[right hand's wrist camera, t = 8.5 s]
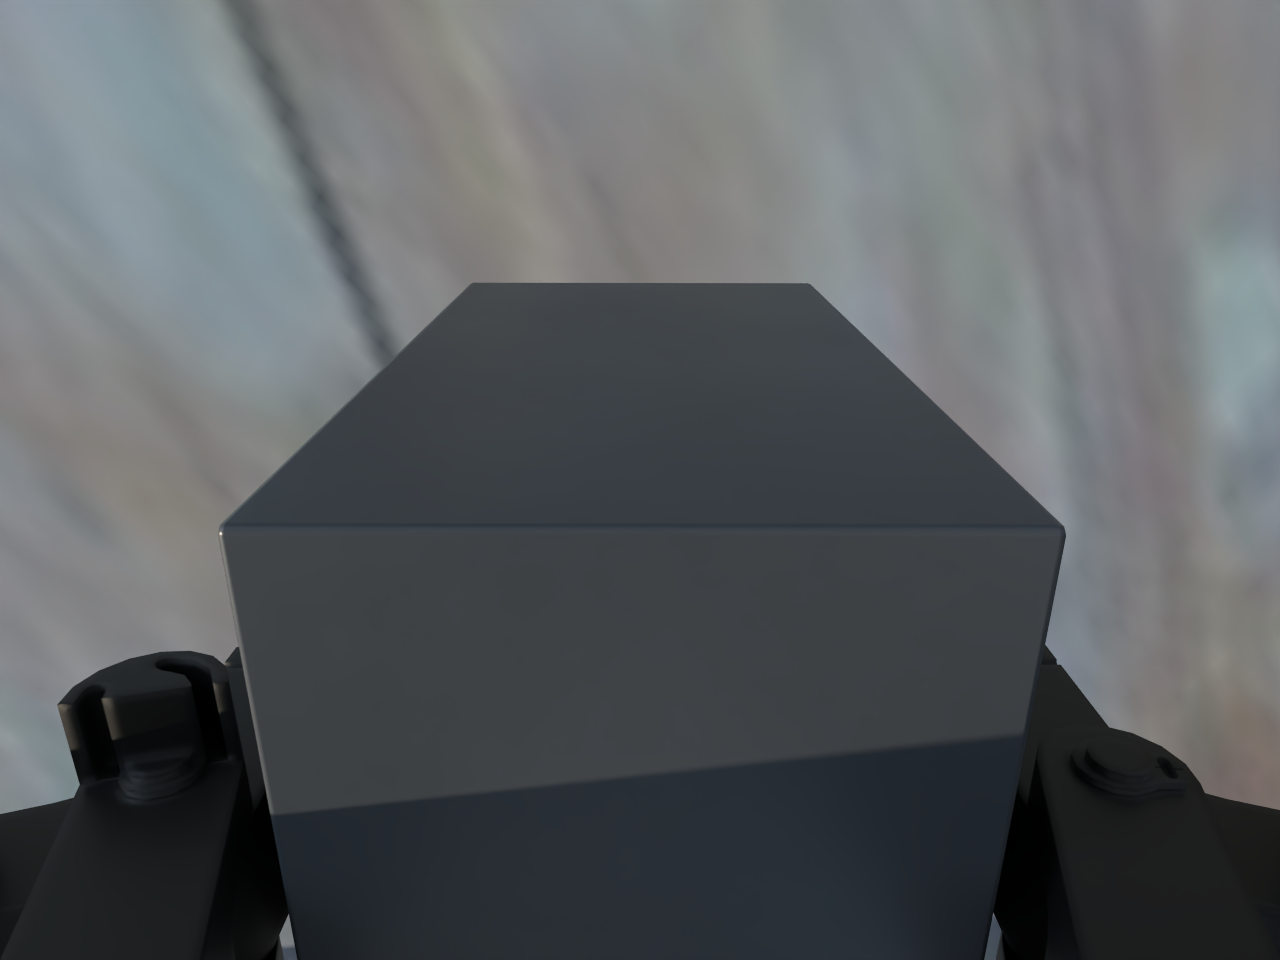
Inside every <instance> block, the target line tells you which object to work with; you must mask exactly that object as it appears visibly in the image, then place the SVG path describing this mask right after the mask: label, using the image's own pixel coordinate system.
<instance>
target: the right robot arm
mask: <svg viewBox="0 0 1280 960" xmlns="http://www.w3.org/2000/svg"><path fill="white" fill-rule="evenodd" d="M1056 661H1057V659H1056V658H1055V657H1054V656H1053V654H1052V653H1051V652H1050V650H1049V649H1048V648H1047V646H1046V645H1045V647H1044V652H1043V657H1042V662H1041V668H1040V673H1039V678H1038V683H1037V688H1036V693H1035V699H1034V704H1033V709H1032V714H1031V719H1030V724H1029V730H1028V735H1027V740H1026V745H1025V750H1024V755H1023V761H1022V766H1021V771H1020V776H1019V781H1018V786H1017V792H1016V797H1015V802H1014V807H1013V812H1012V817H1011V823H1010V828H1009V833H1008V838H1007V843H1006V848H1005V854H1004V859H1003V864H1002V869H1001V874H1000V879H999V885H998V890H997V895H996V900H995V905H994V911H993V912H994V915H995V917H996V919H997V921H998V924H999V926H1000V928H1001V930H1002V932H1001V937H1000V942H999V947H998V952H997V957H996V960H1280V810H1276V809H1272V808H1267V807H1262V806H1257V805H1252V804H1248V803H1243V802H1238V801H1233V800H1228V799H1224V798H1221V797H1217V796H1213V795H1210V794H1206V793H1204V790H1203V788H1202V786H1201V784H1200V782H1199V781H1198V780H1197V778H1196V777H1195V776H1194V774H1193V773H1192V772H1191V771H1190V769H1189V768H1188V767H1187V765H1186V764H1185V763H1184V762H1182V761H1181V760H1179V759H1178V758H1177V757H1175V756H1174V755H1173V754H1171V753H1170V752H1169V751H1167V750H1166V749H1164V748H1163V747H1162V746H1160V745H1157V744H1155V743H1153V742H1151V741H1148V740H1146V739H1144V738H1142V737H1140V736H1137V735H1135V734H1133V733H1130V732H1126V731H1121V730H1117V729H1113V728H1109V727H1108V725H1107V724H1106V723H1105V722H1104V720H1103V719H1102V718H1101V716H1100V715H1099V714H1098V713H1097V711H1096V710H1095V709H1094V707H1093V706H1092V705H1091V703H1090V702H1089V701H1088V700H1087V698H1086V697H1085V696H1084V694H1083V693H1082V692H1081V691H1080V689H1079V688H1078V687H1077V685H1076V684H1075V683H1074V681H1073V680H1072V679H1071V678H1070V676H1069V675H1068V674H1067V672H1066V671H1065V670H1064V669H1063V667H1062V666H1061V665H1057V662H1056ZM58 709H59V713H60V716H61V720H62V723H63V727H64V730H65V734H66V737H67V741H68V744H69V748H70V751H71V755H72V758H73V762H74V765H75V769H76V773H77V776H78V780H79V783H80V786H79V788H78V790H77V792H76V794H75V797H74V798H71V799H67V800H64V801H60V802H56V803H52V804H47V805H42V806H38V807H33V808H28V809H23V810H18V811H14V812H9V813H4V814H0V960H284V958H283V952H282V947H281V942H280V937H279V934H280V932H281V930H282V927H283V925H284V923H285V921H286V918H287V916H288V914H289V911H288V906H287V901H286V895H285V890H284V885H283V879H282V874H281V869H280V863H279V858H278V853H277V847H276V842H275V837H274V831H273V826H272V820H271V815H270V810H269V804H268V799H267V794H266V788H265V783H264V778H263V772H262V767H261V762H260V756H259V751H258V746H257V740H256V735H255V730H254V724H253V719H252V714H251V708H250V703H249V698H248V692H247V687H246V682H245V676H244V671H243V666H242V660H241V655H240V650H239V647H236V649H235V650H234V651H233V653H232V654H231V655H230V656H229V658H228V659H227V660H226V662H225V665H224V664H222V663H221V662H220V661H219V660H217V659H216V658H215V657H214V656H211V655H206V654H202V653H197V652H193V651H173V652H159V653H154V654H149V655H145V656H140V657H135V658H131V659H128V660H125V661H123V662H120V663H117V664H115V665H112V666H110V667H107V668H105V669H102V670H100V671H98V672H96V673H95V674H93V675H91V676H90V677H88V678H87V679H85V680H83V681H82V682H80V683H79V684H77V685H75V686H74V687H73V688H72V689H71V690H70V691H69V692H68V693H67V694H66V696H65V697H64V698H63V699H62V700H61V701H60V702H59V703H58Z"/></svg>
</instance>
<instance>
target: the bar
mask: <svg viewBox="0 0 1280 960" xmlns="http://www.w3.org/2000/svg"><path fill="white" fill-rule="evenodd" d="M218 537H219V543H220V548H221V553H222V559H223V564H224V569H225V575H226V580H227V586H228V591H229V596H230V602H231V607H232V612H233V618H234V623H235V628H236V634H237V639H238V644H239V650H240V655H241V660H242V666H243V671H244V676H245V682H246V687H247V692H248V698H249V703H250V708H251V714H252V719H253V724H254V730H255V735H256V740H257V746H258V751H259V756H260V762H261V767H262V772H263V778H264V783H265V788H266V794H267V799H268V804H269V810H270V815H271V820H272V826H273V831H274V837H275V842H276V847H277V853H278V858H279V863H280V869H281V874H282V879H283V885H284V890H285V895H286V901H287V906H288V911H289V917H290V922H291V927H292V933H293V938H294V943H295V949H296V954H297V959H298V960H984V957H985V952H986V947H987V942H988V936H989V931H990V926H991V921H992V916H993V911H994V905H995V900H996V895H997V890H998V885H999V879H1000V874H1001V869H1002V864H1003V859H1004V854H1005V848H1006V843H1007V838H1008V833H1009V828H1010V823H1011V817H1012V812H1013V807H1014V802H1015V797H1016V792H1017V786H1018V781H1019V776H1020V771H1021V766H1022V761H1023V755H1024V750H1025V745H1026V740H1027V735H1028V730H1029V724H1030V719H1031V714H1032V709H1033V704H1034V699H1035V693H1036V688H1037V683H1038V678H1039V673H1040V668H1041V662H1042V657H1043V652H1044V647H1045V642H1046V637H1047V631H1048V626H1049V621H1050V616H1051V611H1052V605H1053V600H1054V595H1055V590H1056V585H1057V580H1058V574H1059V569H1060V564H1061V559H1062V554H1063V549H1064V543H1065V538H1066V533H1065V529H1064V526H1063V525H1062V524H1061V523H1060V522H1059V521H1058V520H1056V519H1055V518H1054V517H1053V516H1052V515H1051V514H1050V513H1049V512H1048V511H1047V510H1046V509H1045V508H1044V507H1043V506H1042V505H1041V504H1040V503H1039V502H1038V501H1037V500H1036V499H1034V498H1033V497H1032V496H1031V495H1030V494H1029V493H1028V492H1027V491H1026V490H1025V489H1024V488H1023V487H1022V486H1021V485H1020V484H1019V483H1018V482H1017V481H1016V480H1015V479H1014V478H1013V477H1011V476H1010V475H1009V474H1008V473H1007V472H1006V471H1005V470H1004V469H1003V468H1002V467H1001V466H1000V465H999V464H998V463H997V462H996V461H995V460H994V459H993V458H992V457H991V456H989V455H988V454H987V453H986V452H985V451H984V450H983V449H982V448H981V447H980V446H979V445H978V444H977V443H976V442H975V441H974V440H973V439H972V438H971V437H970V436H969V435H967V434H966V433H965V432H964V431H963V430H962V429H961V428H960V427H959V426H958V425H957V424H956V423H955V422H954V421H953V420H952V419H951V418H950V417H949V416H948V415H947V414H945V413H944V412H943V411H942V410H941V409H940V408H939V407H938V406H937V405H936V404H935V403H934V402H933V401H932V400H931V399H930V398H929V397H928V396H927V395H926V394H925V393H924V392H922V391H921V390H920V389H919V388H918V387H917V386H916V385H915V384H914V383H913V382H912V381H911V380H910V379H909V378H908V377H907V376H906V375H905V374H904V373H903V372H902V371H900V370H899V369H898V368H897V367H896V366H895V365H894V364H893V363H892V362H891V361H890V360H889V359H888V358H887V357H886V356H885V355H884V354H883V353H882V352H881V351H880V350H878V349H877V348H876V347H875V346H874V345H873V344H872V343H871V342H870V341H869V340H868V339H867V338H866V337H865V336H864V335H863V334H862V333H861V332H860V331H859V330H858V329H856V328H855V327H854V326H853V325H852V324H851V323H850V322H849V321H848V320H847V319H846V318H845V317H844V316H843V315H842V314H841V313H840V312H839V311H838V310H837V309H836V308H835V307H833V306H832V305H831V304H830V303H829V302H828V301H827V300H826V299H825V298H824V297H823V296H822V295H821V294H820V293H819V292H818V291H817V290H816V289H815V288H814V287H813V286H811V285H810V284H800V283H472V284H470V285H469V286H468V287H467V288H466V289H465V290H464V291H463V292H462V293H461V294H460V295H459V296H458V297H457V298H456V299H455V300H454V301H453V302H451V303H450V304H449V305H448V306H447V307H446V308H445V309H444V310H443V311H442V312H441V313H440V314H439V315H438V316H437V317H436V318H435V319H434V320H433V321H432V322H431V323H430V324H429V325H428V326H427V327H426V328H424V329H423V330H422V331H421V332H420V333H419V334H418V335H417V336H416V337H415V338H414V339H413V340H412V341H411V342H410V343H409V344H408V345H407V346H406V347H405V348H404V349H403V350H402V351H401V352H400V353H398V354H397V355H396V356H395V357H394V358H393V359H392V360H391V361H390V362H389V363H388V364H387V365H386V366H385V367H384V368H383V369H382V370H381V371H380V372H379V373H378V374H377V375H376V376H375V377H374V378H372V379H371V380H370V381H369V382H368V383H367V384H366V385H365V386H364V387H363V388H362V389H361V390H360V391H359V392H358V393H357V394H356V395H355V396H354V397H353V398H352V399H351V400H350V401H349V402H348V403H347V404H345V405H344V406H343V407H342V408H341V409H340V410H339V411H338V412H337V413H336V414H335V415H334V416H333V417H332V418H331V419H330V420H329V421H328V422H327V423H326V424H325V425H324V426H323V427H322V428H321V429H319V430H318V431H317V432H316V433H315V434H314V435H313V436H312V437H311V438H310V439H309V440H308V441H307V442H306V443H305V444H304V445H303V446H302V447H301V448H300V449H299V450H298V451H297V452H296V453H295V454H293V455H292V456H291V457H290V458H289V459H288V460H287V461H286V462H285V463H284V464H283V465H282V466H281V467H280V468H279V469H278V470H277V471H276V472H275V473H274V474H273V475H272V476H271V477H270V478H269V479H268V480H266V481H265V482H264V483H263V484H262V485H261V486H260V487H259V488H258V489H257V490H256V491H255V492H254V493H253V494H252V495H251V496H250V497H249V498H248V499H247V500H246V501H245V502H244V503H243V504H242V505H240V506H239V507H238V508H237V509H236V510H235V511H234V512H233V513H232V514H231V515H230V516H229V517H228V518H227V519H226V520H225V521H224V522H223V523H222V524H221V525H220V527H219V531H218Z"/></svg>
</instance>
